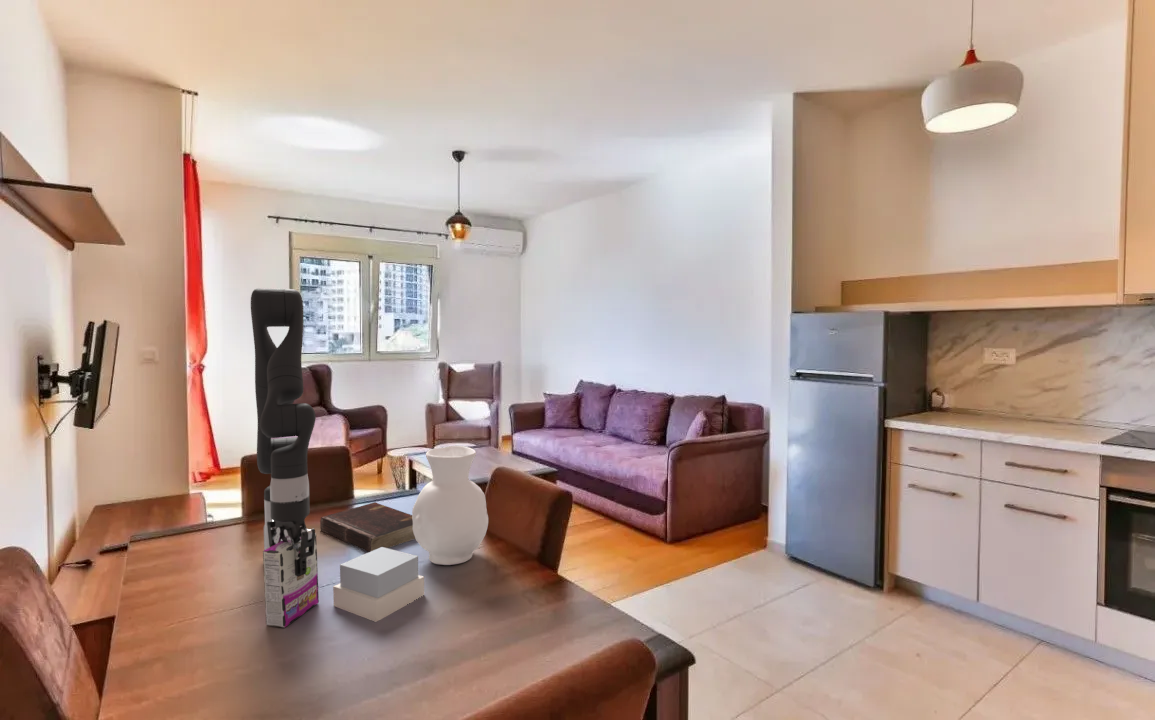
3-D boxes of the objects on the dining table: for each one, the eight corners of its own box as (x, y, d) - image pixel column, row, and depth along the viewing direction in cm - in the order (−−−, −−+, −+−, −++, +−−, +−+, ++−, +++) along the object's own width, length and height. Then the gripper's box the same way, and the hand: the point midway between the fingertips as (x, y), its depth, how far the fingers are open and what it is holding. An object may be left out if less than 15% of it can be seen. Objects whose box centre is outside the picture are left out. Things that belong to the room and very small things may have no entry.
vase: (438, 582, 137) (437, 462, 136) (401, 556, 153) (400, 449, 152) (501, 562, 149) (501, 452, 148) (461, 539, 166) (460, 440, 164)
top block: (340, 586, 125) (340, 564, 125) (381, 566, 136) (381, 546, 136) (378, 598, 119) (377, 575, 119) (418, 577, 130) (418, 556, 130)
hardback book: (320, 532, 173) (320, 516, 173) (375, 516, 188) (374, 502, 188) (371, 555, 155) (370, 537, 155) (427, 536, 170) (426, 520, 170)
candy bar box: (300, 601, 127) (298, 531, 127) (319, 603, 126) (318, 532, 125) (263, 626, 116) (261, 549, 116) (284, 628, 115) (282, 551, 115)
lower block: (333, 607, 125) (333, 586, 125) (383, 584, 138) (382, 564, 137) (375, 624, 118) (375, 601, 118) (424, 597, 131) (424, 576, 130)
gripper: (253, 495, 120) (255, 570, 121) (293, 505, 113) (295, 586, 114) (286, 486, 127) (288, 558, 128) (326, 496, 120) (328, 572, 120)
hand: (291, 571), depth 121 cm, fingers closed on candy bar box, 6 cm apart
